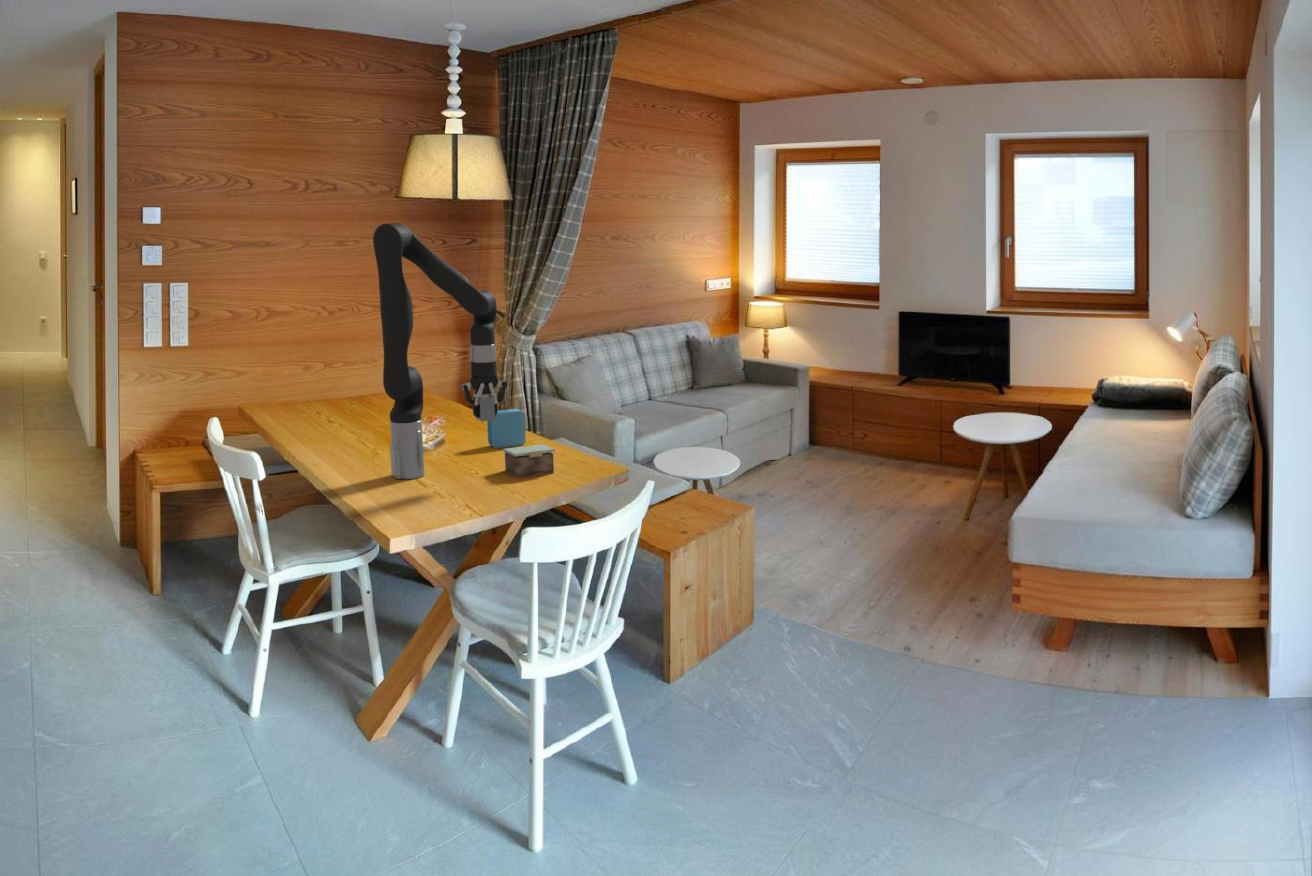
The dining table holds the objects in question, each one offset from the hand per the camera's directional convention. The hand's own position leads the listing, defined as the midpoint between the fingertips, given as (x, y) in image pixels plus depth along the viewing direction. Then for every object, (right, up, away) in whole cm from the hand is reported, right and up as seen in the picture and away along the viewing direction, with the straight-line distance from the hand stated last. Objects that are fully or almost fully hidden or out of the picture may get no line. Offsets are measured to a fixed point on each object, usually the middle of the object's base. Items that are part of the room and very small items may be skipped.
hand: (485, 416), depth 311 cm
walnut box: (+12, -17, +12) cm, 24 cm away
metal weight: (0, -1, 0) cm, 1 cm away
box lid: (+12, -11, +10) cm, 19 cm away
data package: (0, -9, +47) cm, 48 cm away
